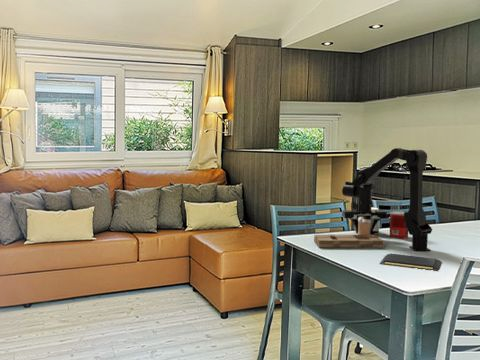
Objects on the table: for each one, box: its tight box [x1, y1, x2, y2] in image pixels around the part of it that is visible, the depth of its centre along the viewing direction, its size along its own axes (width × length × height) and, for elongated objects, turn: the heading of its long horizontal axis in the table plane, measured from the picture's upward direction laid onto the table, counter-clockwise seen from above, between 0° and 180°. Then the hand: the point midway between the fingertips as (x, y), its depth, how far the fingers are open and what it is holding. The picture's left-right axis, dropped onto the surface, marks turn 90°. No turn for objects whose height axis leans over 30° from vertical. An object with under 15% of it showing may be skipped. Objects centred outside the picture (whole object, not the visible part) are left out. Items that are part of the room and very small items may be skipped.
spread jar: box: [353, 206, 380, 235], centre depth 223 cm, size 12×11×12 cm
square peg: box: [357, 222, 371, 235], centre depth 209 cm, size 4×4×7 cm
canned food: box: [389, 210, 409, 239], centre depth 213 cm, size 8×8×11 cm
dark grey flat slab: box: [378, 252, 443, 272], centre depth 170 cm, size 20×2×15 cm
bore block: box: [313, 234, 384, 249], centre depth 197 cm, size 12×26×3 cm, turn 91°
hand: (363, 233), depth 209 cm, fingers open, 6 cm apart
